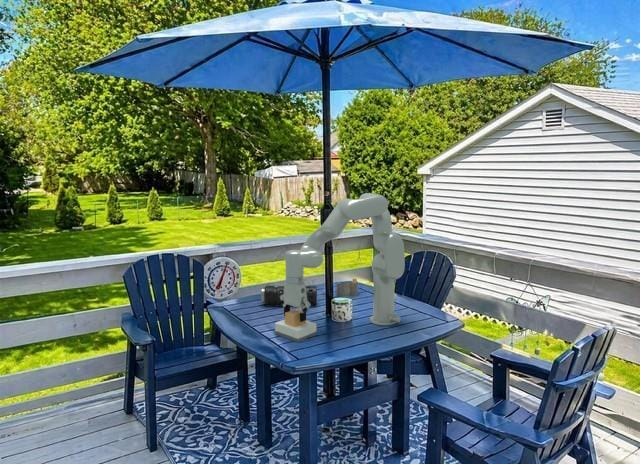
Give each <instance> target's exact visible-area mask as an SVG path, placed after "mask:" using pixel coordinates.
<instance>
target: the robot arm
mask: <svg viewBox="0 0 640 464" xmlns="http://www.w3.org/2000/svg"><path fill="white" fill-rule="evenodd" d="M388 208H389V202H388V200H387V197H385V196H384V195H382V194H376V193H373V192H371V193H369V192H365V193H362V194H361V195H360V196H359V198H358V199H353V198H342V199H340V200H339V201H338V202H337V204H336V205H335V207H334V208H333V209H332V211H331V212H330V214H328V217H326V219H325V221H324V222H323V223H322V224H321V226H319V227H318V228H317V229H316V230H315V231H313V233H311V234H310V235H309V237H308V238H307V239H306V240H305V242H304V243H303V244H302V246H301V247H300V249H299V250H298V249H290V250H288V251H286V252H285V256H284V257H285V258H284V259H285V282H284V285H283V286H284V294H283V295H281V296H280V299H281V303H282V304H281V305H282V307H283V317H284V318H285V313H286V312H288V311H291V307H294V308H296V309H300V311H301V313H300V322H303V321H306V320H307V313H308V311H309V309H310V307H311V306H312V305H311V304H310V303H309V302H308V301H307V293H306V286H307V285H306V283H305V279H304V276H305V275H304V268H306V269H307V268H309V269H315V268H318V267H320V266H321V265H322V264H323V262H324V256H323V254H322V253H321V252H320V251H319V250H320V249H321V248H322V247H323V245H326V243H327V242H329V241H331V240H332V241H333V240H335V239H336V238H339V237H340V236H341V234H342V233H343V231H344V229H345V228H346V227H347V225H348V223H350V221H360V220H365V219H369V218H370V219H371V223H372V225H371V226H372V238H373V239H372V241H373V242H372V243H373V246H374V248H375V249H376V250H378V251H380V253H377V254H376V255H375V256H374V257H373V258H372V261H371V270H372V271H371V272H372V276H373V277H372V279H373V287H372V288H373V291H372V292H373V293H372V294H373V297H372V298H373V299H372V307H373V309H372V315H371V316H370V317H369V322H370V323H371V324H373V325H377V326H378V325H379V326H392V325H396V324H397V323H400V322H401V319H402V318H401V316H399V315H397V312H396V311H395V290H396V289H395V280H398V279H400V278H401V277H402V276H403V274H404V273H405V268H406V267H405V266H406V264H405V263H406V260H405V258H406V257H405V245H404V239H403V238H402V236H400V235H399V234H398V233H395V232H393V224H392V218H391V217H392V216H391V214H390V211H389V209H388Z"/></svg>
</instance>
